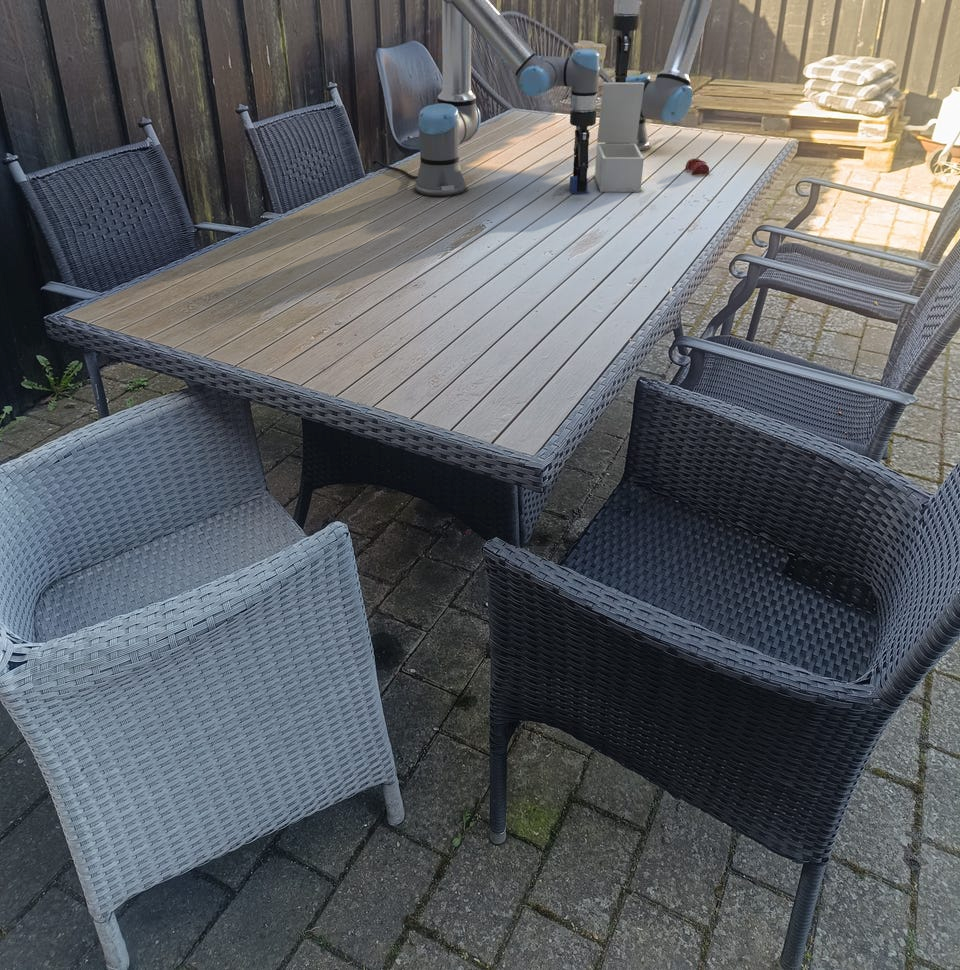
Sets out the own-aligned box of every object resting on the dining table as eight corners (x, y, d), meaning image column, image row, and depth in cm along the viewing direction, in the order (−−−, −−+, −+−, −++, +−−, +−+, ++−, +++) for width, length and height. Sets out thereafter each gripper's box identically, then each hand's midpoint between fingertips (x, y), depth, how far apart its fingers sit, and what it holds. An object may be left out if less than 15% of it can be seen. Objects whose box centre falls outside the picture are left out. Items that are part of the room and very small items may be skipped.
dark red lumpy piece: (700, 154, 275) (711, 161, 268) (699, 168, 277) (710, 175, 271) (684, 156, 274) (695, 163, 267) (683, 169, 276) (694, 176, 270)
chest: (640, 191, 257) (643, 158, 251) (600, 191, 257) (602, 158, 251) (632, 175, 271) (635, 143, 265) (594, 175, 271) (597, 143, 265)
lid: (644, 83, 251) (641, 71, 257) (603, 83, 251) (601, 71, 257) (636, 142, 264) (633, 130, 270) (597, 142, 264) (595, 129, 270)
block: (586, 193, 256) (587, 178, 253) (574, 194, 255) (574, 180, 253) (581, 189, 259) (582, 175, 257) (569, 190, 258) (570, 176, 256)
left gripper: (601, 119, 233) (595, 196, 246) (592, 100, 254) (587, 173, 266) (573, 119, 233) (570, 197, 246) (567, 100, 254) (564, 173, 266)
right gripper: (642, 17, 242) (633, 106, 256) (635, 11, 254) (627, 96, 267) (616, 18, 242) (609, 106, 256) (610, 11, 254) (603, 96, 267)
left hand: (579, 184), depth 256 cm, fingers open, 13 cm apart
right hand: (618, 100), depth 261 cm, fingers closed on lid, 1 cm apart
